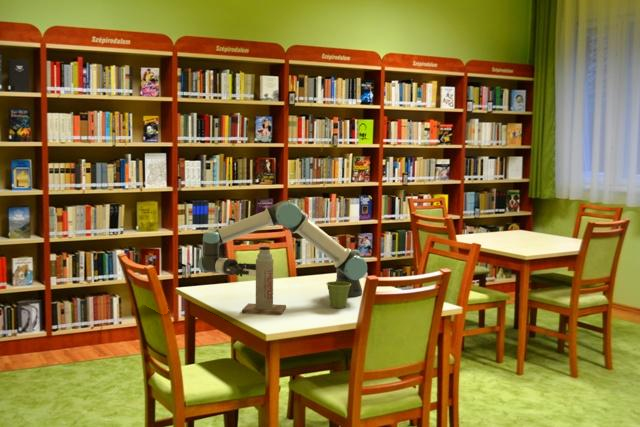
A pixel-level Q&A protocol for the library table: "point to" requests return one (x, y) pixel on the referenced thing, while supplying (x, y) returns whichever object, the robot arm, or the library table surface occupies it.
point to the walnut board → (274, 311)
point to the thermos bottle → (264, 279)
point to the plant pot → (338, 293)
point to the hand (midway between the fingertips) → (264, 271)
